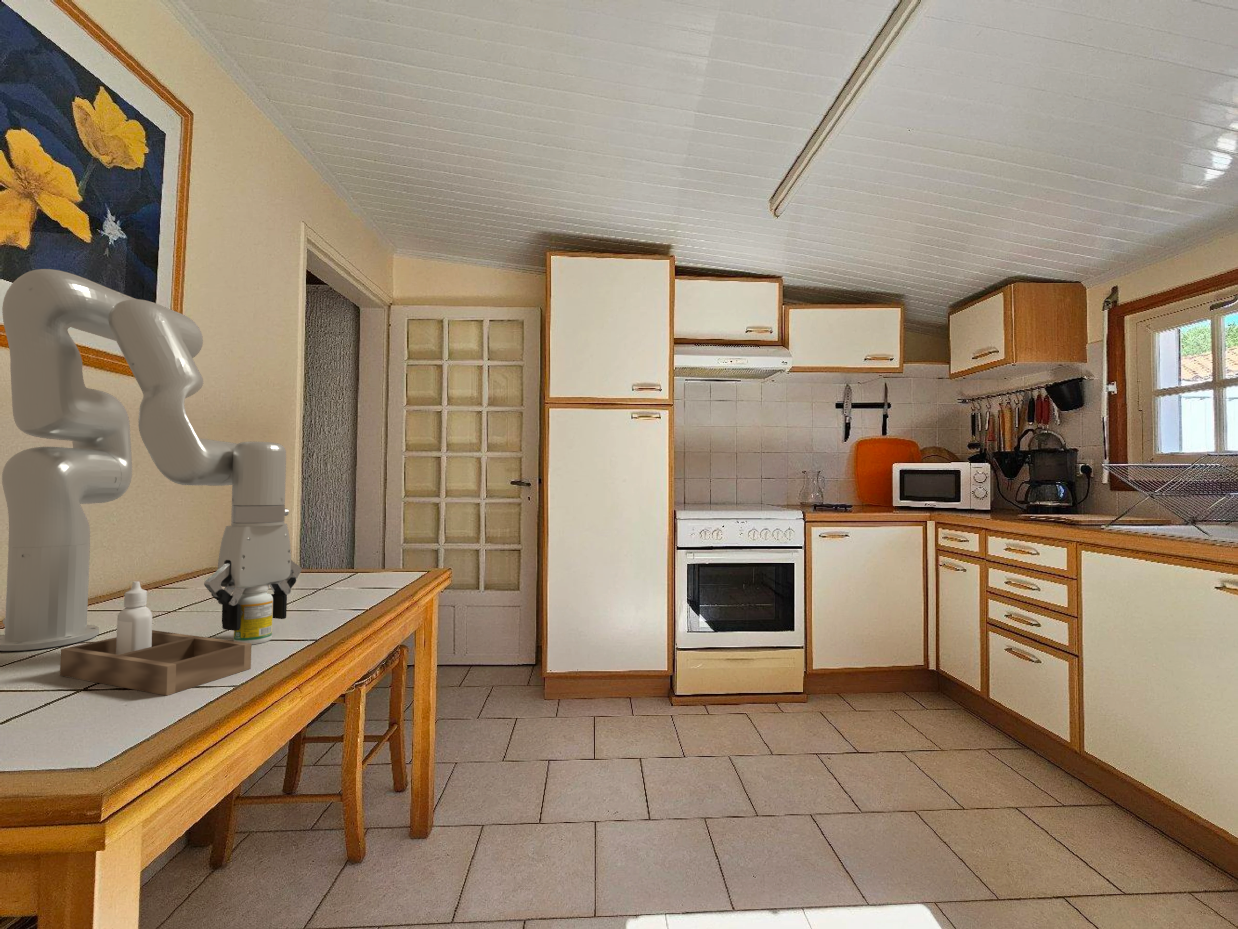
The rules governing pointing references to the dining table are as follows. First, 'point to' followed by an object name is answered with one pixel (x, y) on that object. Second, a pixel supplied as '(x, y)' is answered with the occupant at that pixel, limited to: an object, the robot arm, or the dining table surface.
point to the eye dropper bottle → (134, 622)
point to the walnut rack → (157, 662)
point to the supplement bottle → (255, 615)
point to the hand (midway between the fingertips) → (255, 623)
